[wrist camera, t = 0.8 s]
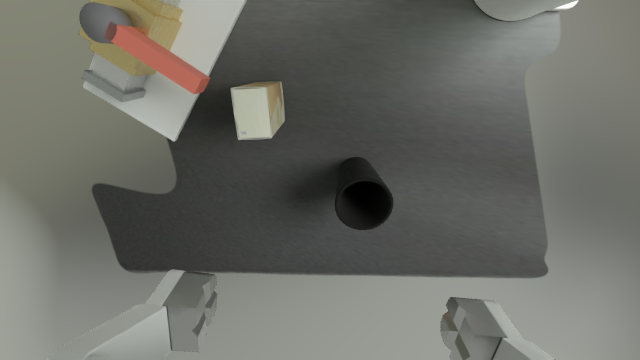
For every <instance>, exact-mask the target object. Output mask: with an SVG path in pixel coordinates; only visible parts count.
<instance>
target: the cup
mask: <svg viewBox="0 0 640 360" xmlns="http://www.w3.org/2000/svg"><path fill="white" fill-rule="evenodd" d="M392 209H393V197H392V194H391V192H390V190H389V189H388V187H387V186H386V185H385V183H384V182H383V181H382V179H381V178H380V177H379V175H378V174H377V172H376V171H375V170H374V168H373V167H372V166H371V164H370V163H369V162H368V161H367V160H365V159H363V158H360V157H354V158H350V159H348V160H346V161H345V162H344V163H343V164H342V166H341V168H340V173H339V180H338V186H337V193H336V200H335V210H336V213H337V216H338V217H339V219H340V220H341V221H342V222H343V223H344V224H345V225H347V226H349V227H351V228H353V229H357V230H368V229H373V228H375V227H378V226H379V225H381V224H382V223H384V222H385V221H386V220H387V219H388V218H389V216H390V214H391V212H392Z"/></svg>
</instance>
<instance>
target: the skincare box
mask: <svg viewBox="0 0 640 360" xmlns="http://www.w3.org/2000/svg"><path fill="white" fill-rule="evenodd" d="M231 96H232V103H233V111H234V117H235V123H236V130H237V136H238V140H253V139H269V138H272V137H273V135H274V134H275V133H276V132H277V130H278V129H279V128H280V126H281V125H282V124H283V123H284V121H285V111H284V99H283V90H282V82H281V81H274V82H255V83H250V84H246V85H242V86H238V87H233V88H231Z"/></svg>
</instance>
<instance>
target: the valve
mask: <svg viewBox="0 0 640 360" xmlns="http://www.w3.org/2000/svg"><path fill="white" fill-rule="evenodd" d="M179 1H180V0H90V2H89V3H91V2H96V3H100V4H105V5H109V6H113V7H117V8H120V9H121V10H123V11H124V12H125V13H126V14H127V15H128V16H129V18H130V20H131V22H132V25H133V27H134V28H135V29H137V30H138V31H140V32H141V33H143V34H144V35H146V36H147V37H149V38H150V39H152V40H153V41H155V42H156V43H158V44H159V45H161V46H163V47H164V48H166V49H167V50H169V51H170V49H171V47H172V45H173V43H174V40H175V38H176V36H177V34H178V31H179V29H180V27H181V25H182V22H180V21H179V19H180V17H181V15H182V12H183V10H182V9H181V8H179V7H178V6H177V5H178V3H179ZM79 35H80V36H82V37H83V38H85V39H87V40H88V41H90V42H91V44H90V47H89V49H90V50H92V51H93V52H95V53H97V54H98V58H97V60H96V63H95V66H94V69H93V70H84V73H83V76H82V79H84V80H85V81H87V82H89V83H90V84H92V85H94V86H95V87H97V88H99V89H100V90H102V91H104V92H105V93H107V94H109V95H110V96H112V97H114V98H115V99H117V100H119V101H120V102H126V101H130V100H135V99H139V98H144V95H145V93H146V90H144V89H143V88H142V87H143V84H144V82H145V80H146V77H147V75H152V74H156V72H157V71H156V70H155V69H153V68H152V67H150V66H149V65H147V64H145V63H144V62H142V61H141V60H139V59H138V58H136V57H134V56H133V55H131V54H130V53H128V52H127V51H125V50H123V49H122V48H120V47H119V46H117V45H116V44H108V43H98V42H96V41H94V40H92V39H91V38H89V37H88V36H87V35H86V33H85V32H84V30H83V29H82V26H81V29H80V32H79Z"/></svg>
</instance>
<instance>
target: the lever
mask: <svg viewBox="0 0 640 360" xmlns="http://www.w3.org/2000/svg"><path fill="white" fill-rule="evenodd" d="M80 24H81V26H82V29H83V30H84V32H85V33H86V35H87V36H88V37H89V38H91V39H92V40H94V41H96V42H98V43H108V44H116V45H117V46H119V47H120V48H122V49H123V50H125V51H127V52H128V53H130V54H131V55H133V56H134V57H136V58H138V59H139V60H141V61H142V62H144V63H145V64H147V65H149V66H150V67H152V68H153V69H155V70H156V71H158V72H160V73H161V74H163V75H164V76H166V77H167V78H169V79H171V80H172V81H174V82H175V83H177V84H178V85H180V86H182V87H183V88H185V89H186V90H188V91H189V92H191V93H193V94H198V93H201V92H204V90H205V88H206V86H207V84H208V82H209V80H210V77H208V76H207V75H205V74H204V73H202V72H201V71H199V70H198V69H196V68H194V67H193V66H191V65H190V64H188V63H187V62H185V61H184V60H182V59H181V58H179V57H178V56H176V55H175V54H173V53H172V52H170V51H169V50H167V49H166V48H164V47H163V46H161V45H159V44H158V43H156V42H155V41H153V40H152V39H150V38H149V37H147V36H146V35H144V34H143V33H141V32H140V31H138V30H137V29H135V28H134V27H133V25H132V22H131V20H130V18H129V16H128V15H127V14H126V13H125V12H124V11H123V10H121V9H120V8H117V7H113V6H109V5H105V4H100V3H96V2H91V3H88V4H86V5H84V6H83V8H82V10H81V12H80Z"/></svg>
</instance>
